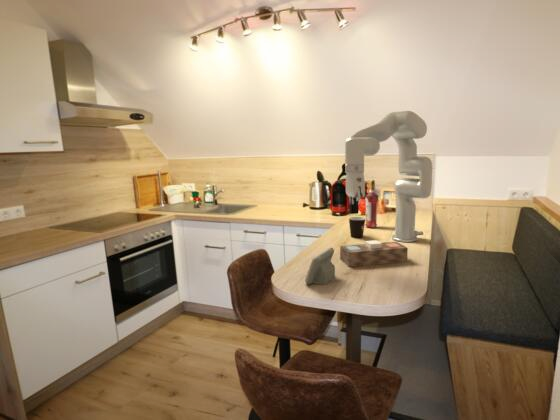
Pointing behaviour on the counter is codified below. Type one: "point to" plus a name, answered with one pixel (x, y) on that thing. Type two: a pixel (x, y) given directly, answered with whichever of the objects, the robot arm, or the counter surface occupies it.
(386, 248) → the frame
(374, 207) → the liquor
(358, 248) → the blue key
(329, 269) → the grey rock
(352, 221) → the coffee mug
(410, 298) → the counter surface
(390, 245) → the pink block
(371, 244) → the white key
